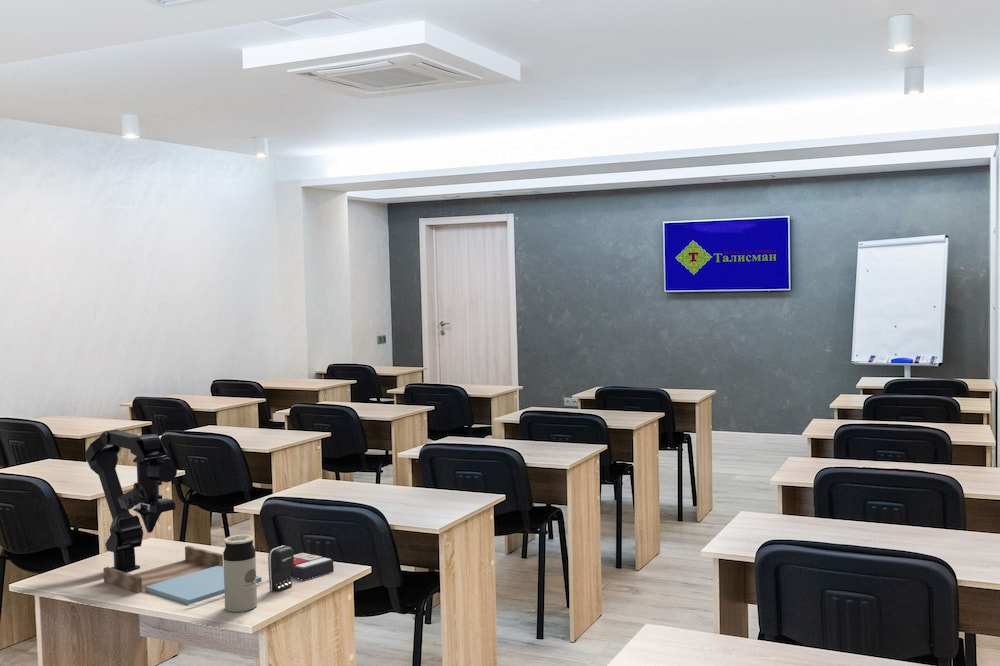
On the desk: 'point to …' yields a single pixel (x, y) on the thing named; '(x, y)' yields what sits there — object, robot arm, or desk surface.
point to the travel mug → (240, 573)
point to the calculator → (310, 566)
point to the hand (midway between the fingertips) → (149, 532)
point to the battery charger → (280, 568)
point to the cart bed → (164, 570)
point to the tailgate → (193, 586)
